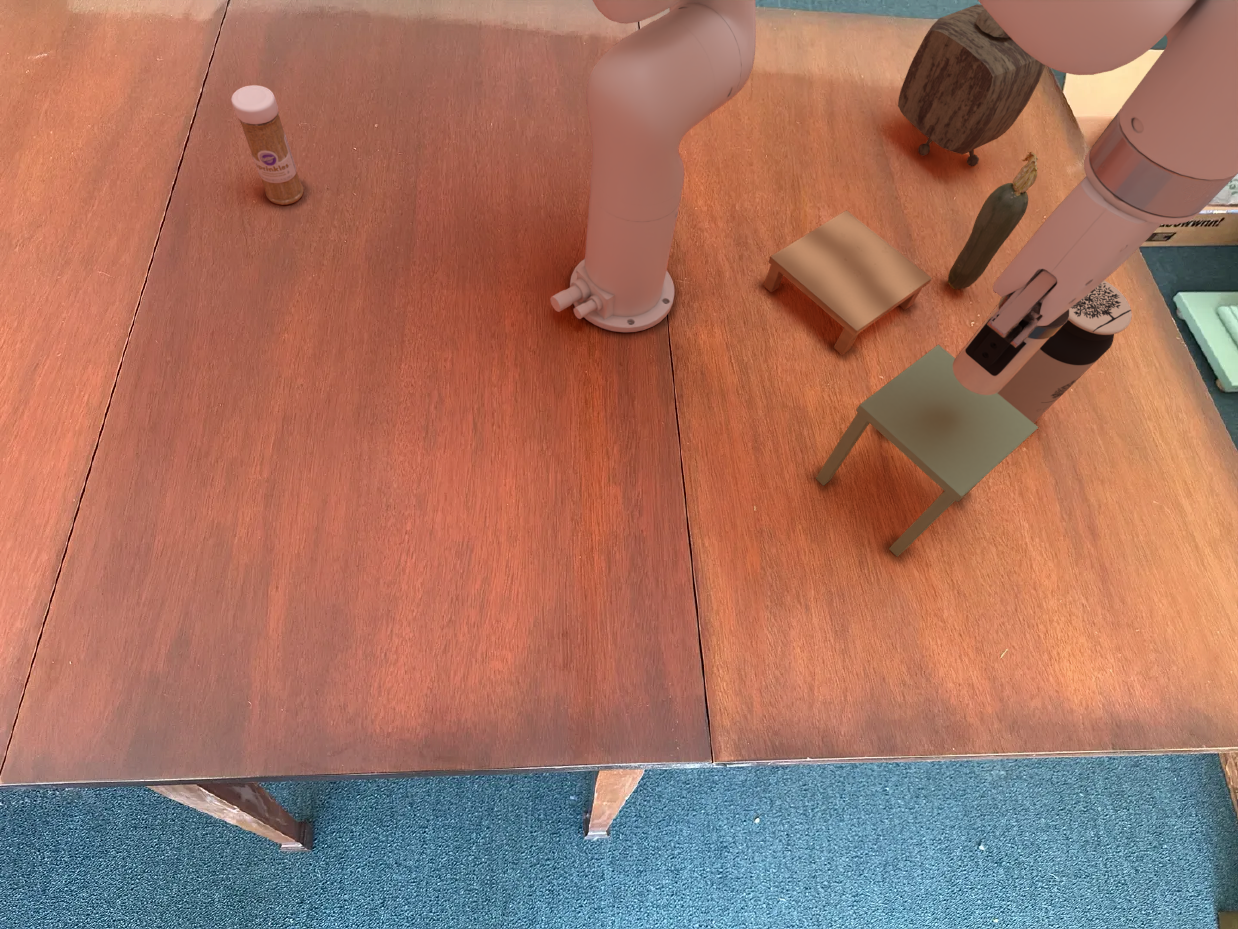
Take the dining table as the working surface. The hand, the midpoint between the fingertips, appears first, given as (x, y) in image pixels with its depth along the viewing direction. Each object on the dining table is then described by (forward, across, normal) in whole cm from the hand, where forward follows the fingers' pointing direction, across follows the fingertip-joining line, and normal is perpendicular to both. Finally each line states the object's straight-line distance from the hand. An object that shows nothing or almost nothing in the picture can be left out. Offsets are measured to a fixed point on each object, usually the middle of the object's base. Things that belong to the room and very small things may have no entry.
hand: (1002, 345), depth 63 cm
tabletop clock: (+25, -49, -32) cm, 64 cm away
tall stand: (+24, 0, +1) cm, 24 cm away
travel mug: (+24, -19, +2) cm, 31 cm away
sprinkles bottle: (+25, +30, -74) cm, 84 cm away
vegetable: (+24, -29, -13) cm, 40 cm away
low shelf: (+24, -16, -21) cm, 36 cm away
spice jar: (+4, 0, 0) cm, 4 cm away
